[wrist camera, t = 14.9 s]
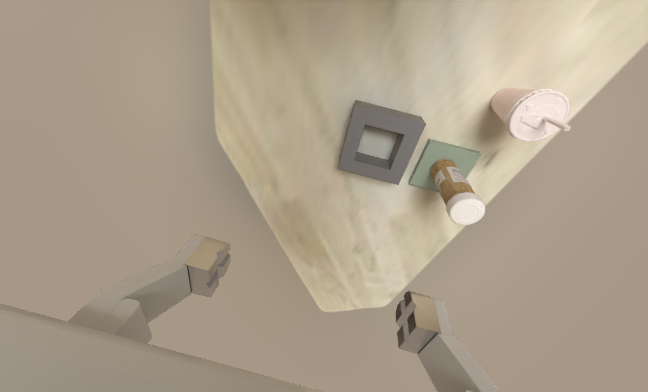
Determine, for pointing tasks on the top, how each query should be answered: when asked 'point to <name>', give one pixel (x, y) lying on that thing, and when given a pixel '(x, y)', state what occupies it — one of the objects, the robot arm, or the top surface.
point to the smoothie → (531, 112)
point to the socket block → (386, 120)
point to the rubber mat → (437, 152)
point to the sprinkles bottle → (457, 193)
